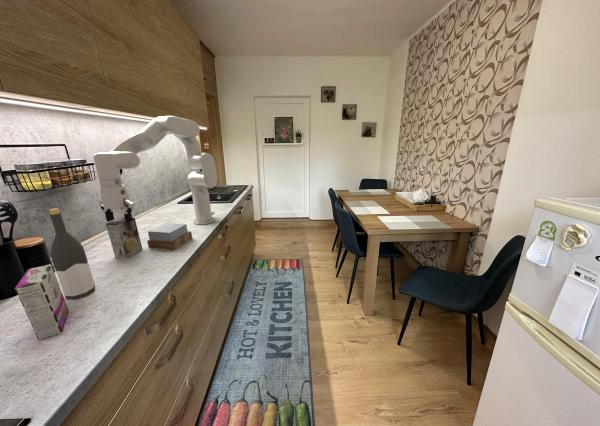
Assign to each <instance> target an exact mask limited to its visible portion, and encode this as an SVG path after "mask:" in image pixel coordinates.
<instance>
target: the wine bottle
mask: <svg viewBox="0 0 600 426" xmlns="http://www.w3.org/2000/svg"><path fill="white" fill-rule="evenodd" d="M48 211H49V217H50V220H51V222H52V226H53V229H54V231H55V236H54V239H53V241H52V245H51V251H50V259H51V261H52V265H53V268H54V270H55V272H56V273H55V274H57V278H58V280H59V281H58V282H59V285H60V286H61V287H60V288H61V290H62V293H63V294H64V295H63V296H64V299H66V300H69V301H76V300H79V299H80V300H81V299H83V298H86V297H88V296H89V295H91V294H93V293H95V292H96V284H95V283H96V282H95V280H94V277H93V274H92V271H91V267H90V264H89V260H88V258H87V255H86V250H85V247H84V246H83V245H82V244H81V242H80V241H79V240H78V239H77V238H76V236H74V235H73V234H71V233H70V232H68V230H67V227H66V226H65V223H64V219H63V216H62V212H60V209H59V208H58V207H57V208H51V209H49V210H48Z"/></svg>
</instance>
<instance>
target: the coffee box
mask: <svg viewBox="0 0 600 426" xmlns="http://www.w3.org/2000/svg"><path fill="white" fill-rule="evenodd" d="M132 218H133V221H131V222H128V223H126V222H125V218H124V216H123V217H121V218H118V219H114V220H112V221H109V222H106V223H105V226H106V227H105V228H106V230H107V233H108V237H109V240H110V243H111V247H112V251H113V254H114V257H115V258H124V259H126V258H129V257H130V256H132V255H134V254H135V253H138V252H141V251H142V250H143V246H142V241H141V238H140V234H139V233H140V232H139V229H138V226H137V221H136V217H132Z"/></svg>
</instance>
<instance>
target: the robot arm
mask: <svg viewBox="0 0 600 426" xmlns="http://www.w3.org/2000/svg"><path fill="white" fill-rule="evenodd" d="M200 129H201V128H200V126H199V124H198V123H197V122H196V121H194V120H191V119H188V118H184V117H183V118H182V117H179V116H174V115H164V116H162V115H161V116H160V115H159V116H157V117H154V118H153V119H152V120H151V121H149V123H147V125H146V126H144V127H143V128H142V129H140V131H139V132H138V133H135V134H134V135H132V136H130V137H128V138H127V139H125V140H123V141H121V142H120V143H119V144H117V145H116V146H115V147H113V148H112V149H111V150H110V151H109V152H96V153H94V154H93V162H94V165H95V166H94V167H95V169H96V173H97V178H98V183H99V185H100V186H99V188H100V189H99V191H100V198H101V200H100V201H98V202H97V205H99V207H100V209H101V210H102V212H103V213H104V215H105V219H106V223H109V222H112V221H115V216H114V212H113V210H118V211H119V210H121V211H122V212H123V213H124V214H123V217H124V218H125V222H126V223H128V222H131V221H133V218H134V217H133V215H132V213H133V210H135V209H134V207H135V203H134V202H133V201H131V200H130V196H129V194H128V191H127V188H126V187H125V185H124V184H123V180H122V178H121V177H122V176H121V171H120V170H133V169H137V168H138V167H139V166H140V164H141V159H140V157H139V155H138V154H140V153H142V152H145V151H149V150H151V149H153V148H155V147H156V146H158V144H160V142H161V141H162V140H163V139H165V137H167V135H173V136H174V137H176V138H177V139H179V141H180V142H181V143H182V145H183V149H184V154H185V158H186V163H187V166H188V168H190V169H192V170H194V171H191V172H190V173H189V174H188V176H187V183H188V184H189V187H190V191H191V197H192V203H193V210H194V216H195V219H194V220H193V224H194V225H208V224H211V223H214V222H215V220H216V219H215V217H213V216H214V215H215V214H216V212H215V211H212V209H211V200H210V193H209V191H208V189H212V188H215V187H216V186H217V183H218V174H217V169H216V168H217V167H216V164H215V163H216V162H215V158H214V157H213V156H212V154H211V153H208V152H202V148H201V144H200V142H199V139H198V138H197V136H199V134H200ZM201 170H202V171H201Z"/></svg>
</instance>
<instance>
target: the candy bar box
mask: <svg viewBox="0 0 600 426" xmlns="http://www.w3.org/2000/svg"><path fill="white" fill-rule="evenodd" d="M52 265H53V264H50V263H49V264H45V265H41V266H37V267H32V268H28V269H27V271H26V272H25V273H24V275H23V276H22V278H21V279H20V280H19V282H18V283H17V285H16V286H15V288H14V290H15V292H16V294H17V296H18V299H19V300H20V303H21V305H22V307H23V309H24V311H25V313H26V316H27V317H28V320H29V322H30V325H31V327H32V329H33V331H34V333H35V335H36V338H37V340H38V341H43V340H46V339H49V338H51V337H54V336H57V335H60V334H63V331H64V329H65V326H66V325H65V324H66V322H67V319H68V315H69V311H70V310H69V307H68V305H67V304H68V303H67V302H66V300H65V299H66V298H65V296H64V295H63V294H64V293H63V290H62V288H61V287H60V286H61V285H60V283H59V281H58V279H57V278H58V277H57V276H56V273H55V271H54V267H53V266H52Z"/></svg>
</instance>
